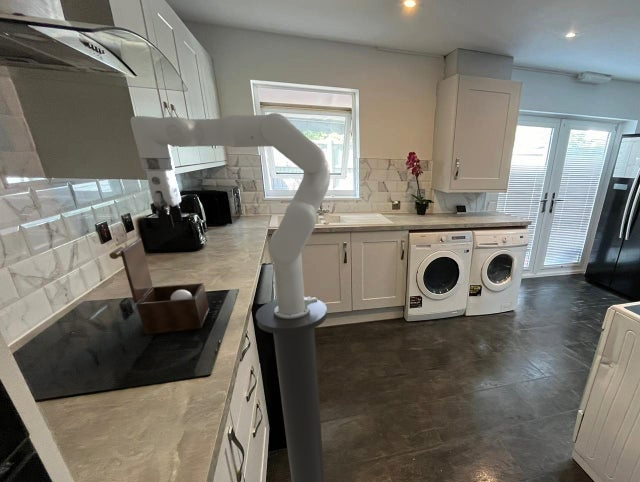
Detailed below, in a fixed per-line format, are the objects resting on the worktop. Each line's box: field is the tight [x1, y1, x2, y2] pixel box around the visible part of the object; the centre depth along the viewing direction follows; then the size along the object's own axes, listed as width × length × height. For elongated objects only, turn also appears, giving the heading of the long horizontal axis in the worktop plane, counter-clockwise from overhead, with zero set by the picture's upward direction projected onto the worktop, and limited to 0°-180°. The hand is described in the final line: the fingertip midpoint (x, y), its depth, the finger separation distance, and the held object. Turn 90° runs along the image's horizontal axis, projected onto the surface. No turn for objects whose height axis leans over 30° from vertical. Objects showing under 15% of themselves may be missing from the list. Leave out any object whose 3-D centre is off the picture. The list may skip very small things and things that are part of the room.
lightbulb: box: [171, 290, 193, 300], centre depth 108 cm, size 6×6×11 cm
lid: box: [109, 238, 154, 304], centre depth 100 cm, size 16×14×5 cm
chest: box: [135, 282, 210, 336], centre depth 108 cm, size 16×14×11 cm
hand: (172, 224), depth 99 cm, fingers open, 9 cm apart
